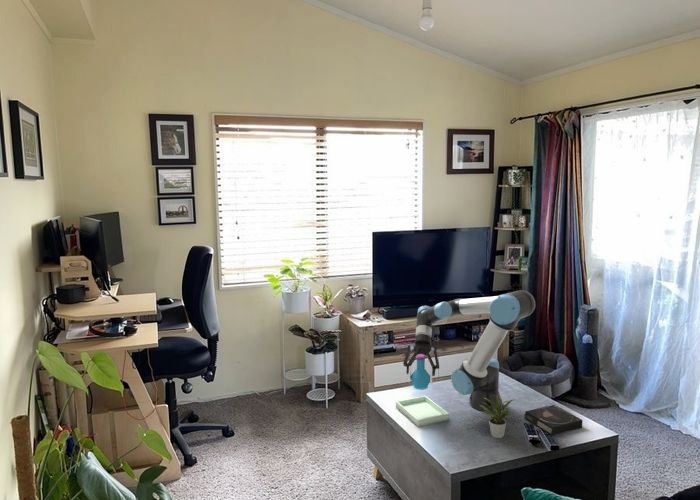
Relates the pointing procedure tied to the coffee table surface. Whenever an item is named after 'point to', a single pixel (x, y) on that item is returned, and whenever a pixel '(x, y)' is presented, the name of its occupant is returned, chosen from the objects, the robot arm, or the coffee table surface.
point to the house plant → (497, 417)
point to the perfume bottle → (420, 374)
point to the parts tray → (422, 411)
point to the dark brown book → (553, 419)
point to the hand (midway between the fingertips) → (420, 381)
